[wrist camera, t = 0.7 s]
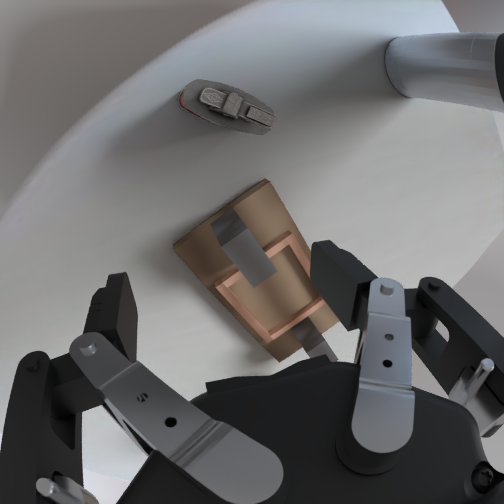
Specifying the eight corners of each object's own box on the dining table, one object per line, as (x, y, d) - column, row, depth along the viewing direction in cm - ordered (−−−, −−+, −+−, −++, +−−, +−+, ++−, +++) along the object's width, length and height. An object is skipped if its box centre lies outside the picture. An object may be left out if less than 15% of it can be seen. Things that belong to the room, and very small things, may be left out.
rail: (265, 178, 34) (292, 197, 28) (341, 310, 48) (365, 339, 41) (173, 244, 35) (178, 278, 28) (276, 356, 48) (293, 389, 42)
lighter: (172, 109, 28) (178, 108, 19) (185, 80, 27) (196, 66, 18) (242, 135, 31) (276, 146, 23) (254, 107, 30) (292, 108, 22)
